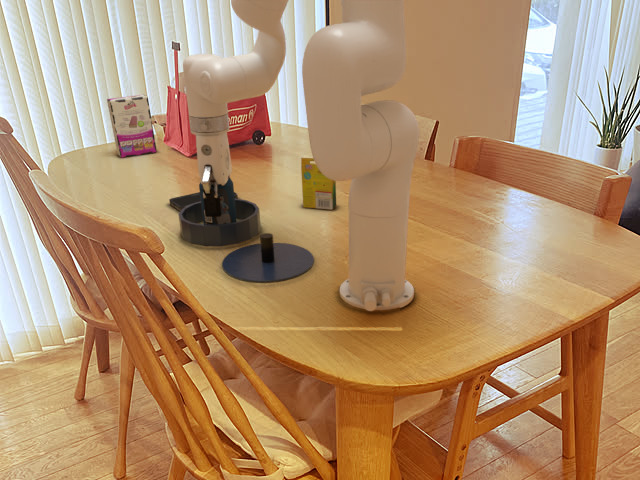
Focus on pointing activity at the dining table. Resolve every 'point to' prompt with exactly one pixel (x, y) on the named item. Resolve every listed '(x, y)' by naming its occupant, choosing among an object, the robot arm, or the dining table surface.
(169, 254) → the dining table surface
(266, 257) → the lid
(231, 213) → the soda can
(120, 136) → the candy bar box
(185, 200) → the phone
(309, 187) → the crayon box
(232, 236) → the pot
